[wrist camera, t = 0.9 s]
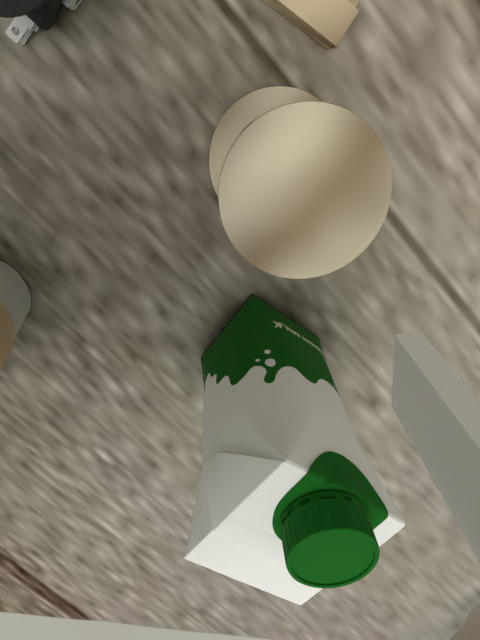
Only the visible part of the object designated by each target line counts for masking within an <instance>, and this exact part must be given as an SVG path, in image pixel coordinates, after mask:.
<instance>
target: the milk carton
mask: <svg viewBox="0 0 480 640" xmlns="http://www.w3.org/2000/svg"><path fill="white" fill-rule="evenodd" d="M201 362H202V371H203V379H204V412H203V447H202V469H201V476H200V481H199V487H198V492H197V497H196V503H195V508H194V513H193V518H192V523H191V529H190V534H189V539H188V544H187V549H186V553H185V559H186V560H189V561H191V562H194V563H196V564H199V565H201V566H204V567H206V568H209V569H211V570H214V571H216V572H219V573H221V574H224V575H226V576H229V577H231V578H234V579H236V580H239V581H241V582H243V583H246V584H248V585H251V586H253V587H256V588H258V589H261V590H263V591H266V592H268V593H271V594H273V595H276V596H278V597H281V598H283V599H286V600H288V601H291V602H293V603H296V604H298V605H302V604H303V603H305V602H306V601H307V600H309V599H310V598H311V597H312V596H314V595H315V594H316V593H318V592H319V591H320V590H321V589H323V588H335V587H341V586H345V585H348V584H351V583H353V582H356V581H358V580H360V579H361V578H363V577H364V576H366V575H367V574H368V573H369V572H371V570H372V569H373V568H374V567H375V565H376V564H377V562H378V559H379V552H380V551H379V546H381V545H382V544H383V543H384V542H386V541H387V540H388V539H389V538H391V537H392V536H393V535H394V534H396V533H397V532H398V531H399V530H400V529H402V528H403V527H404V526H405V521H404V519H403V518H402V516H401V514H400V513H399V511H398V509H397V508H396V506H395V504H394V503H393V501H392V499H391V498H390V496H389V494H388V493H387V491H386V489H385V488H384V486H383V484H382V483H381V481H380V479H379V477H378V476H377V474H376V472H375V471H374V469H373V467H372V466H371V464H370V462H369V461H368V459H367V457H366V455H365V454H364V452H363V450H362V448H361V446H360V444H359V443H358V440H357V438H356V435H355V433H354V431H353V428H352V426H351V423H350V421H349V418H348V416H347V413H346V411H345V409H344V406H343V404H342V401H341V399H340V396H339V394H338V391H337V389H336V386H335V384H334V381H333V379H332V376H331V374H330V371H329V369H328V367H327V364H326V362H325V358H324V355H323V352H322V348H321V345H320V342H319V338H318V337H316V336H315V335H313V334H312V333H310V332H309V331H307V330H305V329H304V328H302V327H301V326H299V325H298V324H296V323H295V322H293V321H292V320H290V319H289V318H287V317H286V316H284V315H283V314H281V313H280V312H278V311H277V310H275V309H274V308H272V307H271V306H269V305H268V304H266V303H265V302H263V301H262V300H260V299H259V298H257V297H256V296H254V295H253V294H252V295H251V296H250V298H249V299H248V300H247V301H246V303H245V304H244V305H243V306H242V307H241V309H240V310H239V311H238V312H237V314H236V315H235V316H234V317H233V319H232V320H231V321H230V322H229V323H228V325H227V326H226V327H225V328H224V330H223V331H222V332H221V333H220V334H219V336H218V337H217V338H216V339H215V341H214V342H213V343H212V344H211V345H210V347H209V348H208V349H207V350H206V352H205V353H204V354H203V355H202V356H201Z"/></svg>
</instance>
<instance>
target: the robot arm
mask: <svg viewBox="0 0 480 640" xmlns="http://www.w3.org/2000/svg"><path fill="white" fill-rule="evenodd" d="M392 408H393V409H394V411H395V413H396V415H397V416H398V418H399V420H400V422H401V423H402V425H403V427H404V429H405V431H406V432H407V434H408V436H409V438H410V439H411V441H412V443H413V445H414V447H415V448H416V450H417V452H418V454H419V455H420V457H421V459H422V461H423V462H424V464H425V466H426V468H427V470H428V471H429V473H430V475H431V477H432V478H433V480H434V482H435V484H436V485H437V487H438V489H439V491H440V493H441V494H442V496H443V498H444V500H445V501H446V503H447V505H448V507H449V509H450V510H451V512H452V514H453V516H454V517H455V519H456V521H457V523H458V524H459V526H460V528H461V530H462V532H463V533H464V535H465V537H466V539H467V540H468V542H469V544H470V546H471V548H472V549H473V551H474V553H475V555H476V556H477V558H478V560H479V562H480V401H479V400H478V399H477V398H476V397H475V396H474V394H473V393H472V392H471V391H470V390H469V388H468V387H467V386H466V385H465V384H464V383H463V381H462V380H461V379H460V378H459V377H458V375H457V374H456V373H455V372H454V371H453V370H452V368H451V367H450V366H449V365H448V364H447V362H446V361H445V360H444V359H443V358H442V356H441V355H440V354H439V353H438V352H437V351H436V349H435V348H434V347H433V346H432V345H431V343H430V342H429V341H428V340H427V339H426V338H425V336H424V335H423V334H422V333H421V332H420V331H419V332H412V333H405V334H397V335H395V348H394V368H393V387H392Z"/></svg>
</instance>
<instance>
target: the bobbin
mask: <svg viewBox="0 0 480 640" xmlns="http://www.w3.org/2000/svg"><path fill="white" fill-rule="evenodd" d="M209 170H210V176H211V181H212V184H213V187H214V190H215V192H216V194H217V196H218V198H219V210H220V215H221V220H222V223H223V226H224V229H225V231H226V233H227V235H228V237H229V239H230V241H231V243H232V244H233V246H234V247H235V248H236V250H237V251H238V252H239V253H240V254H241V255H242V256H243V257H244V258H245V259H246V260H247V261H248V262H249V263H251V264H252V265H254V266H255V267H257V268H258V269H260V270H262V271H265V272H267V273H269V274H272V275H275V276H279V277H284V278H291V279H307V278H313V277H319V276H322V275H325V274H329V273H331V272H333V271H336V270H338V269H340V268H342V267H343V266H345V265H347V264H348V263H350V262H351V261H352V260H354V259H355V258H357V257H358V256H359V255H360V254H361V253H362V252H363V251H364V250H365V249H366V248H367V247H368V246H369V244H370V243H371V242H372V241H373V239H374V238H375V236H376V235H377V233H378V232H379V230H380V228H381V226H382V224H383V222H384V220H385V217H386V215H387V212H388V208H389V204H390V200H391V193H392V174H391V166H390V162H389V159H388V155H387V153H386V150H385V148H384V146H383V144H382V142H381V140H380V139H379V137H378V135H377V134H376V133H375V132H374V130H373V129H372V128H371V127H370V126H369V125H368V124H367V123H366V122H365V121H364V120H363V119H361V118H360V117H359V116H357V115H356V114H354V113H352V112H351V111H349V110H347V109H344V108H342V107H340V106H336V105H333V104H329V103H324V102H322V101H320V100H319V99H318V98H316V97H315V96H313V95H312V94H310V93H308V92H305V91H303V90H300V89H297V88H293V87H285V86H273V87H266V88H262V89H259V90H256V91H253V92H251V93H249V94H247V95H245V96H244V97H242V98H241V99H239V100H238V101H237V102H235V103H234V104H233V105H232V106H231V107H230V108H229V109H228V110H227V112H226V113H225V114H224V115H223V117H222V118H221V120H220V122H219V123H218V125H217V127H216V129H215V132H214V135H213V138H212V141H211V146H210V153H209Z"/></svg>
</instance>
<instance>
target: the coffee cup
mask: <svg viewBox="0 0 480 640" xmlns="http://www.w3.org/2000/svg"><path fill="white" fill-rule="evenodd" d="M30 306H31V297H30V293H29V290H28V287H27V285H26V283H25V282H24V280H23V279H22V277H21V276H20V275H19V274H18V273H17V272H16V271H15V270H14V269H13V268H12V267H11V266H9V265H8V264H6V263H4V262H2V261H1V260H0V371H1V369H2V367H3V365H4V363H5V361H6V359H7V357H8V355H9V354H10V352H11V350H12V348H13V346H14V343H15V337H16V335H17V333H18V331H19V329H20V327H21V326H22V324H23V322H24V320H25V318H26V316H27V314H28V312H29V310H30Z"/></svg>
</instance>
